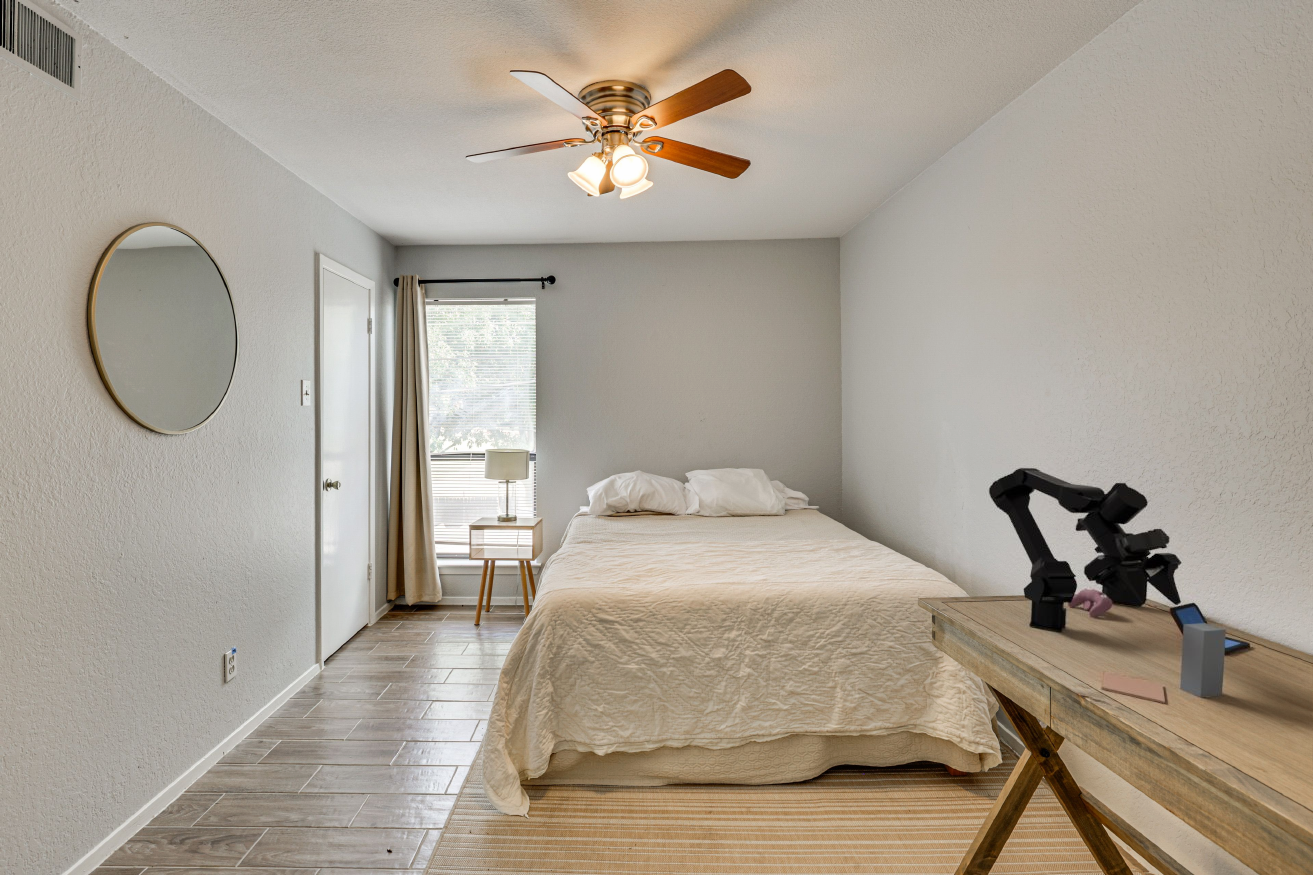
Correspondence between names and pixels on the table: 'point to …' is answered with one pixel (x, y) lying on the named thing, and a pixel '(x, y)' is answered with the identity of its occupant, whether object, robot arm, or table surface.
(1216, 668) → the grey rectangular pillar
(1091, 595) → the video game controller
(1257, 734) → the table surface
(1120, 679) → the terracotta pad
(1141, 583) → the carrying case or bag
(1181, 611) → the handheld game console
